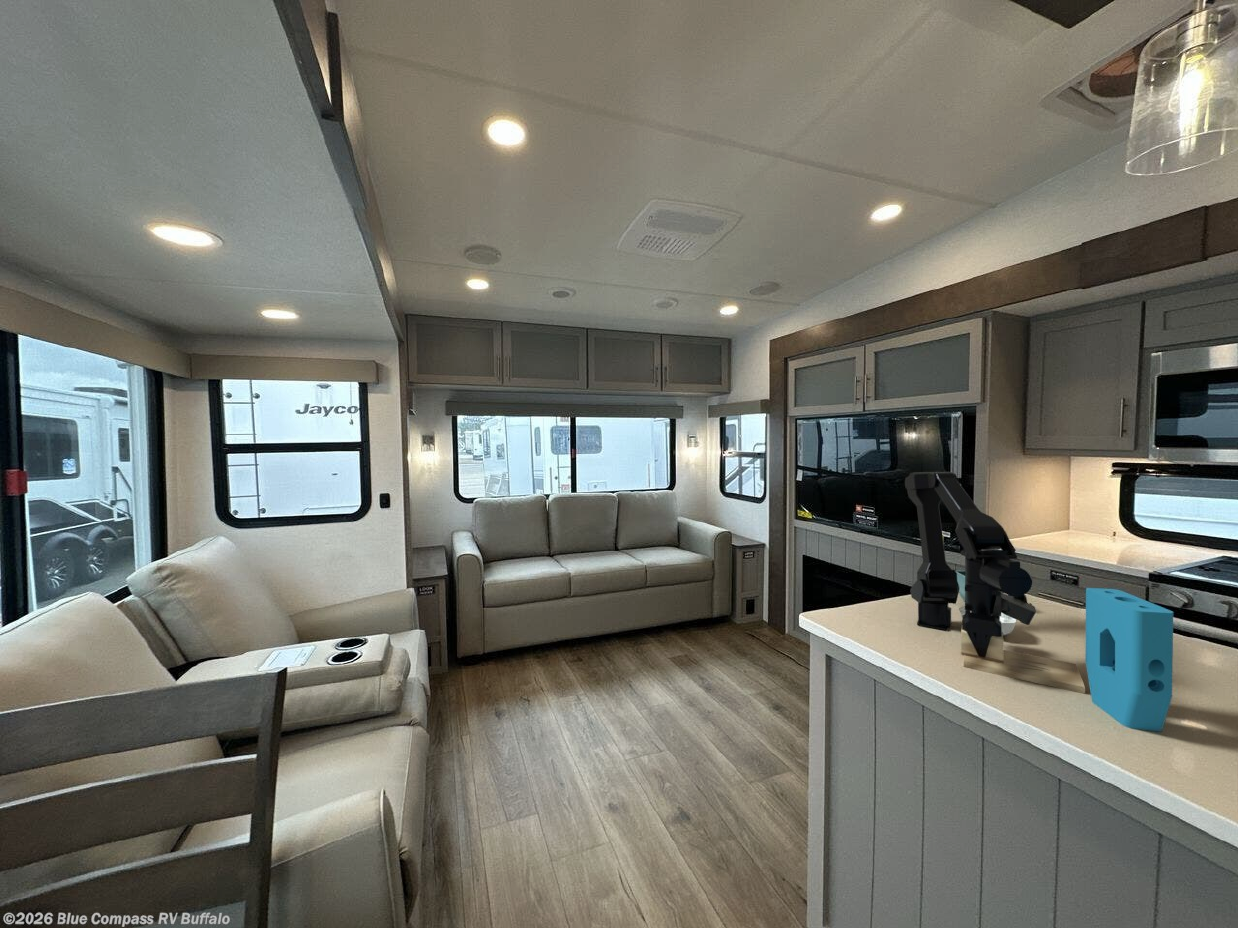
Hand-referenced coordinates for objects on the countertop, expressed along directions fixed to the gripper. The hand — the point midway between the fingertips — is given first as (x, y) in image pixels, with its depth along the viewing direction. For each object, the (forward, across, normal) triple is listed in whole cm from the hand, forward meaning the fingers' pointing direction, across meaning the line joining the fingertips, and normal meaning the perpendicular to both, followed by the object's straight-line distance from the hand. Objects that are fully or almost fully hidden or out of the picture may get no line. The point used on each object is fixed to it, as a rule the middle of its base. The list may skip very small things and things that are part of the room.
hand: (982, 652), depth 98 cm
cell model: (+2, +18, -1) cm, 18 cm away
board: (+2, 0, -6) cm, 6 cm away
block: (+2, -11, -19) cm, 22 cm away
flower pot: (+2, +39, +1) cm, 39 cm away
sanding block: (0, 0, 0) cm, 0 cm away
